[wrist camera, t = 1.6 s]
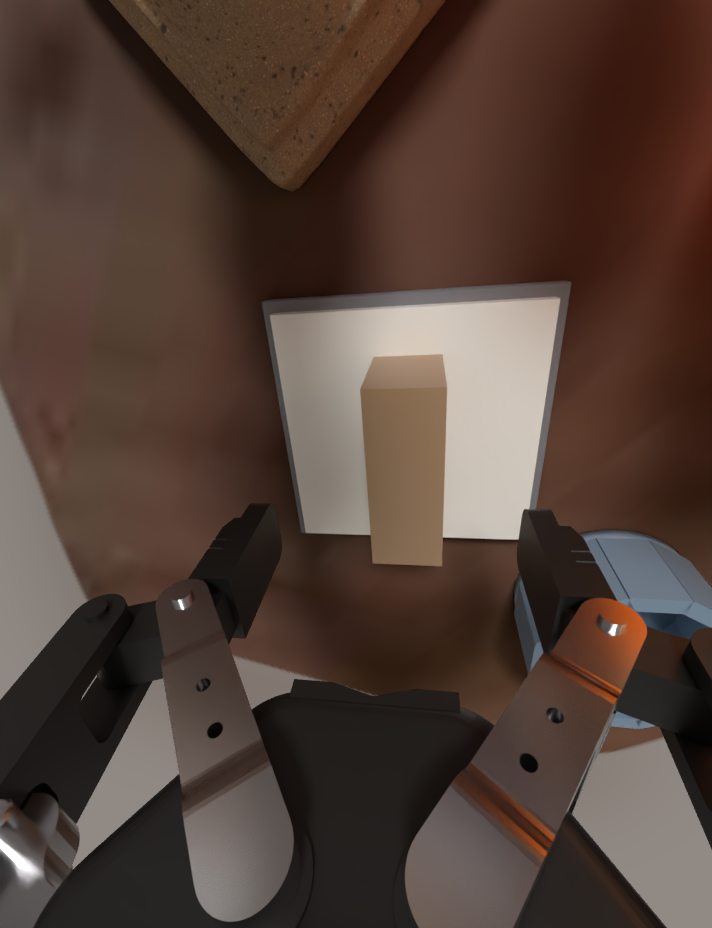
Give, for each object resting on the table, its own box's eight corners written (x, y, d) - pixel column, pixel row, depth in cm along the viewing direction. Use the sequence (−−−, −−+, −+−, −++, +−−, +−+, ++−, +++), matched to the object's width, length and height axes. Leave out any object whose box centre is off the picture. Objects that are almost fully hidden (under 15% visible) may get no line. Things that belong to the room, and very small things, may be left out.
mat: (565, 280, 17) (571, 282, 17) (527, 531, 23) (530, 540, 23) (267, 299, 19) (261, 301, 19) (304, 525, 25) (301, 533, 25)
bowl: (715, 532, 22) (788, 606, 17) (664, 653, 26) (712, 735, 22) (522, 526, 23) (544, 593, 19) (506, 642, 28) (521, 717, 23)
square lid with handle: (556, 296, 17) (602, 318, 12) (522, 532, 23) (546, 605, 18) (274, 313, 19) (227, 337, 14) (308, 526, 24) (282, 590, 20)
